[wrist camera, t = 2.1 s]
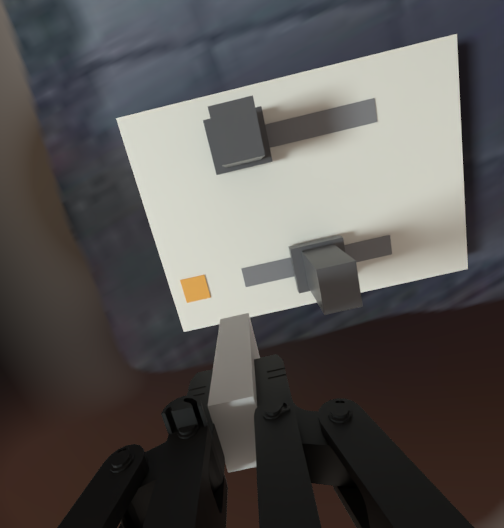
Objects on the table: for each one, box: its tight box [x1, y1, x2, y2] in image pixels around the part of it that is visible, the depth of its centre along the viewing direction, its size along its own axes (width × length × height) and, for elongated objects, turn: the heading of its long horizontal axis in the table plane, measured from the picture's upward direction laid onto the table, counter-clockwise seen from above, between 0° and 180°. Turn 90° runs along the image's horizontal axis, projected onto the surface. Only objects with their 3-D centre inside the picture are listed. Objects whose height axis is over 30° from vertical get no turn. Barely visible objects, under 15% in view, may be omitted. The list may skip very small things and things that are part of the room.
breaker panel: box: [116, 34, 468, 332], centre depth 26 cm, size 24×17×3 cm
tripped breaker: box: [288, 235, 362, 315], centre depth 22 cm, size 4×4×6 cm
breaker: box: [203, 95, 273, 175], centre depth 20 cm, size 4×4×6 cm
